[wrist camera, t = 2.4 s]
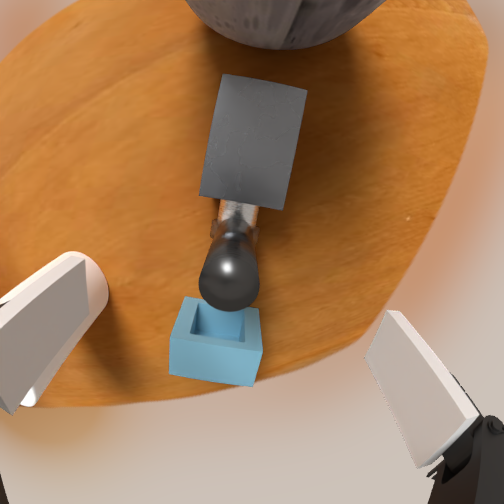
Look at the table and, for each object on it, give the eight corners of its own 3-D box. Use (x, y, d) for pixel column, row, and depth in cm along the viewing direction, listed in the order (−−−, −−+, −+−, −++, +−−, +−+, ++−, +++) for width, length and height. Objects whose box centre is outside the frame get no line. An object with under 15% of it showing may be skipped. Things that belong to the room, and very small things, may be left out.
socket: (185, 296, 28) (170, 336, 21) (258, 308, 29) (263, 351, 22) (182, 330, 30) (169, 373, 23) (250, 341, 30) (252, 386, 23)
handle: (237, 94, 21) (232, 38, 10) (282, 103, 21) (319, 56, 10) (205, 277, 27) (182, 360, 15) (246, 283, 27) (248, 371, 15)
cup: (119, 280, 27) (39, 379, 12) (95, 326, 29) (34, 419, 14) (65, 237, 26) (-36, 303, 10) (47, 287, 28) (-30, 360, 12)
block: (227, 92, 22) (222, 73, 16) (292, 105, 22) (307, 90, 17) (209, 186, 25) (198, 195, 19) (273, 198, 25) (282, 210, 19)
